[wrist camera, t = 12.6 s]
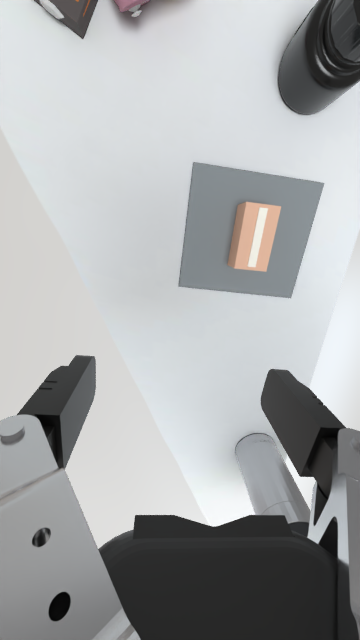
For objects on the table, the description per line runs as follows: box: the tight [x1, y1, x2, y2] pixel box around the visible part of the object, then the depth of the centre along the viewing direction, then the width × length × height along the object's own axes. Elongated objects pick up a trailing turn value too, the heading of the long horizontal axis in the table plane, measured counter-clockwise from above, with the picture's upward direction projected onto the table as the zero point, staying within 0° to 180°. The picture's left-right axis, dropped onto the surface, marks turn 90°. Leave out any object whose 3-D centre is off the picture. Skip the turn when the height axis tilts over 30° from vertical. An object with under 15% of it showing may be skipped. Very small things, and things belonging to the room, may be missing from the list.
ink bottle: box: [279, 0, 360, 114], centre depth 25 cm, size 10×9×12 cm
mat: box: [179, 162, 324, 298], centre depth 38 cm, size 18×20×1 cm
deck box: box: [227, 202, 281, 272], centre depth 35 cm, size 5×9×4 cm, turn 174°
